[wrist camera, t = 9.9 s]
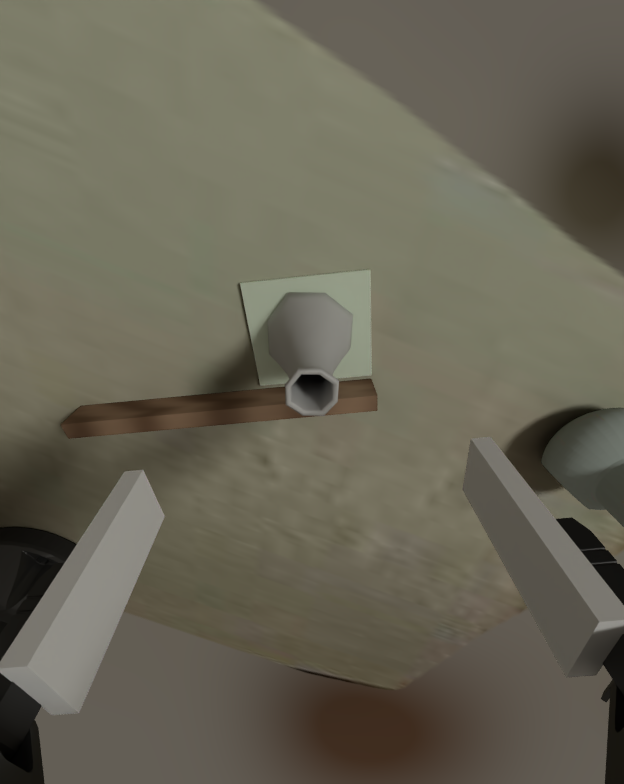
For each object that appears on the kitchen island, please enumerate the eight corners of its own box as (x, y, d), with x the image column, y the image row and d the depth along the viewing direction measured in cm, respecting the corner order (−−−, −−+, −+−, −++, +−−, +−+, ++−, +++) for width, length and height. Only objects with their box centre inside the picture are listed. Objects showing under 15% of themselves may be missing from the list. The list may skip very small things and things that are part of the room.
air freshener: (517, 438, 34) (588, 519, 26) (594, 383, 31) (705, 454, 23) (572, 487, 38) (651, 573, 29) (647, 442, 35) (760, 523, 26)
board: (260, 384, 31) (260, 385, 30) (240, 282, 26) (239, 283, 26) (371, 373, 30) (371, 375, 30) (369, 268, 26) (370, 269, 26)
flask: (256, 358, 29) (235, 426, 20) (280, 275, 26) (267, 315, 17) (334, 382, 30) (346, 456, 22) (367, 306, 27) (396, 358, 18)
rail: (87, 419, 32) (68, 438, 30) (80, 405, 32) (60, 424, 29) (371, 392, 31) (377, 410, 29) (371, 378, 31) (377, 395, 28)
